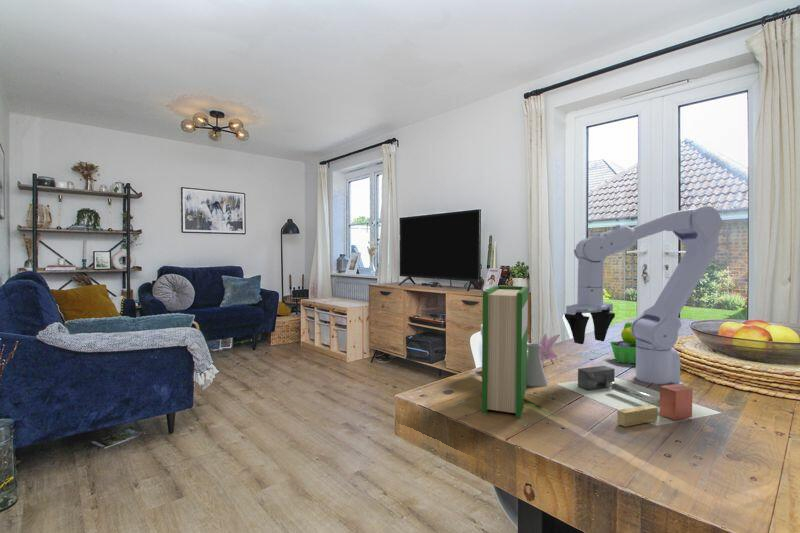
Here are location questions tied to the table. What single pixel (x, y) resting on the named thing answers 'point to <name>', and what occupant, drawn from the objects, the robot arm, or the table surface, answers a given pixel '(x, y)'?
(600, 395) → the board
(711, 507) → the table surface
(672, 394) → the mallet
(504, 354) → the hardback book
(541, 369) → the flask
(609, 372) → the eye bracket
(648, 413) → the keeper bar
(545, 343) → the lily
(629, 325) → the fruit basket
